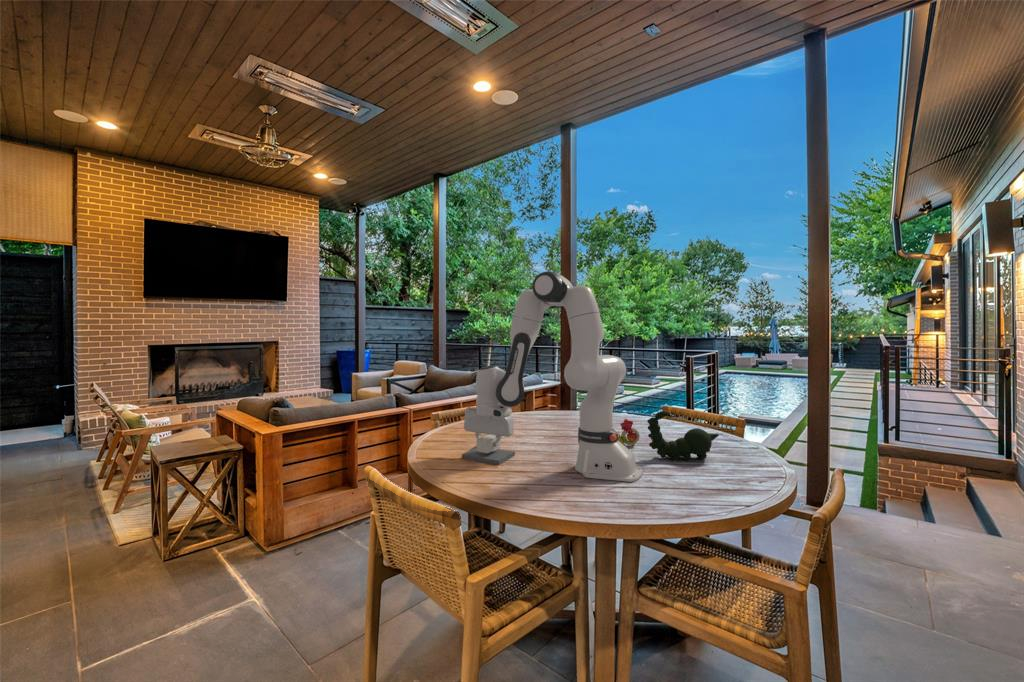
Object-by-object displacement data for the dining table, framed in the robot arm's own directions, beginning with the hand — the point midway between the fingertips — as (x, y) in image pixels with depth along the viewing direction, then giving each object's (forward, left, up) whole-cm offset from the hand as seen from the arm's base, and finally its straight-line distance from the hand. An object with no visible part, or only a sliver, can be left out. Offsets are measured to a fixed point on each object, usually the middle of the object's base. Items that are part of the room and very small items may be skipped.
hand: (488, 445), depth 167 cm
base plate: (0, 0, -4) cm, 4 cm away
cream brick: (0, 0, -2) cm, 2 cm away
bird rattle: (-43, -37, -5) cm, 57 cm away
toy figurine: (-65, -30, -5) cm, 72 cm away
